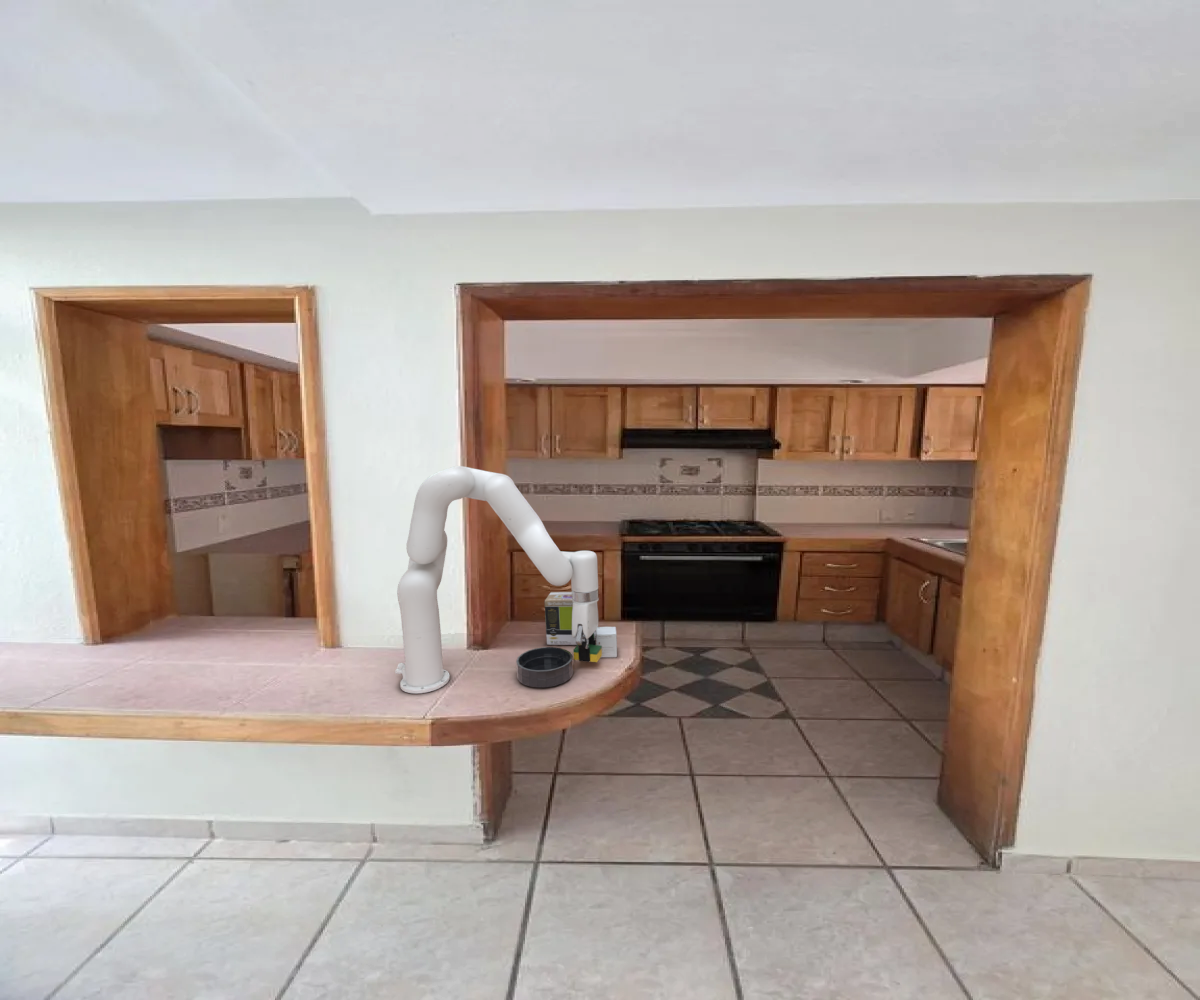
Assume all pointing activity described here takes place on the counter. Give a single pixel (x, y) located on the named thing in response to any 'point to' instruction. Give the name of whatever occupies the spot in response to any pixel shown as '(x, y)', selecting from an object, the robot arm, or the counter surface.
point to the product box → (607, 641)
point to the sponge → (594, 652)
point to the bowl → (544, 667)
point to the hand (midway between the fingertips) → (587, 656)
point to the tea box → (559, 619)
